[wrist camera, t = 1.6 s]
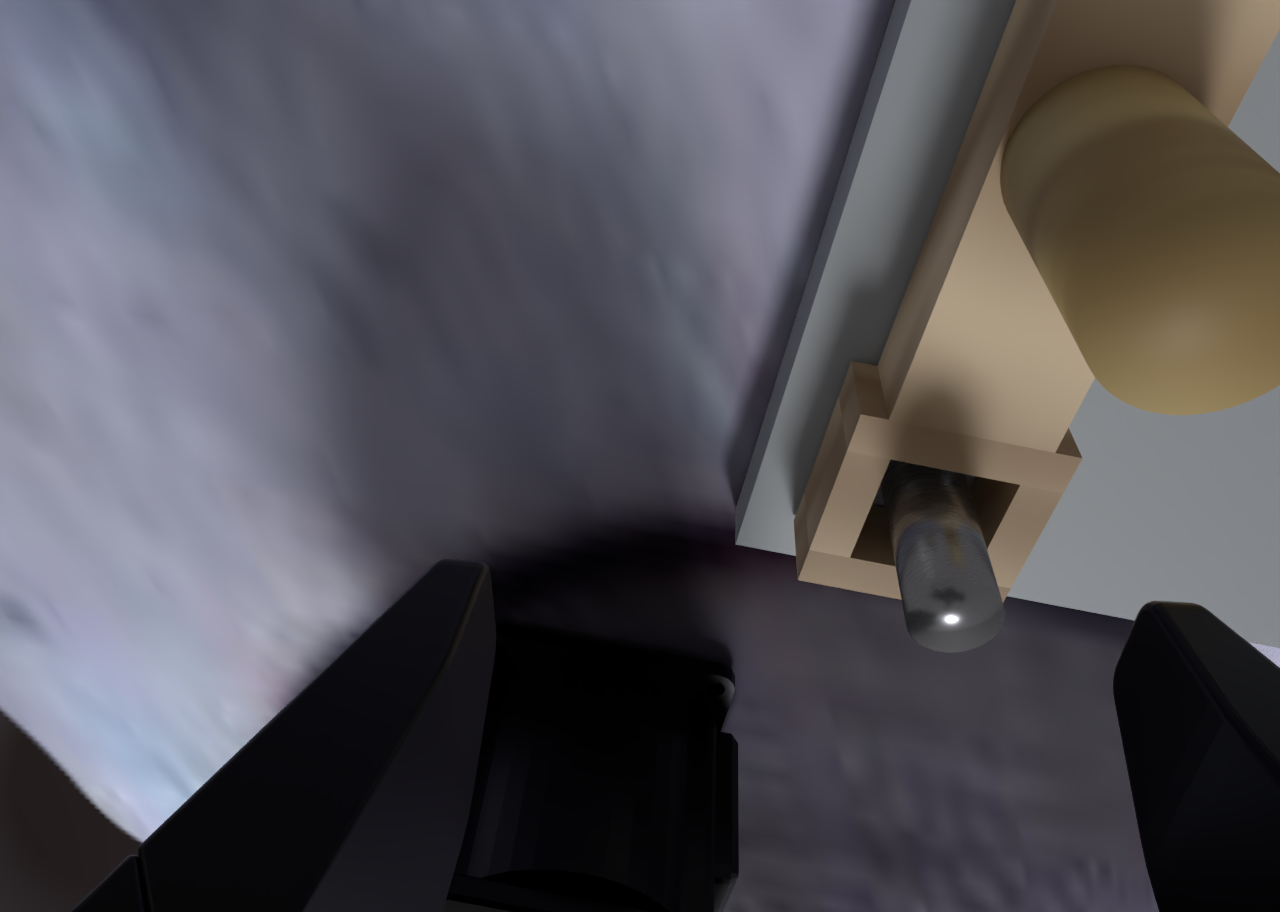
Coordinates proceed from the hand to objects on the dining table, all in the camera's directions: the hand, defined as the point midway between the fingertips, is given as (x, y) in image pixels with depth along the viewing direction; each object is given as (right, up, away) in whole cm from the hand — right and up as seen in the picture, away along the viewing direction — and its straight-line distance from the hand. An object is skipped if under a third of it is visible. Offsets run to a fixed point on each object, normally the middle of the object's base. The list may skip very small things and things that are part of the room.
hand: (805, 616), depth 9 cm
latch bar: (+5, +5, +9) cm, 12 cm away
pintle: (+4, +1, +12) cm, 13 cm away
